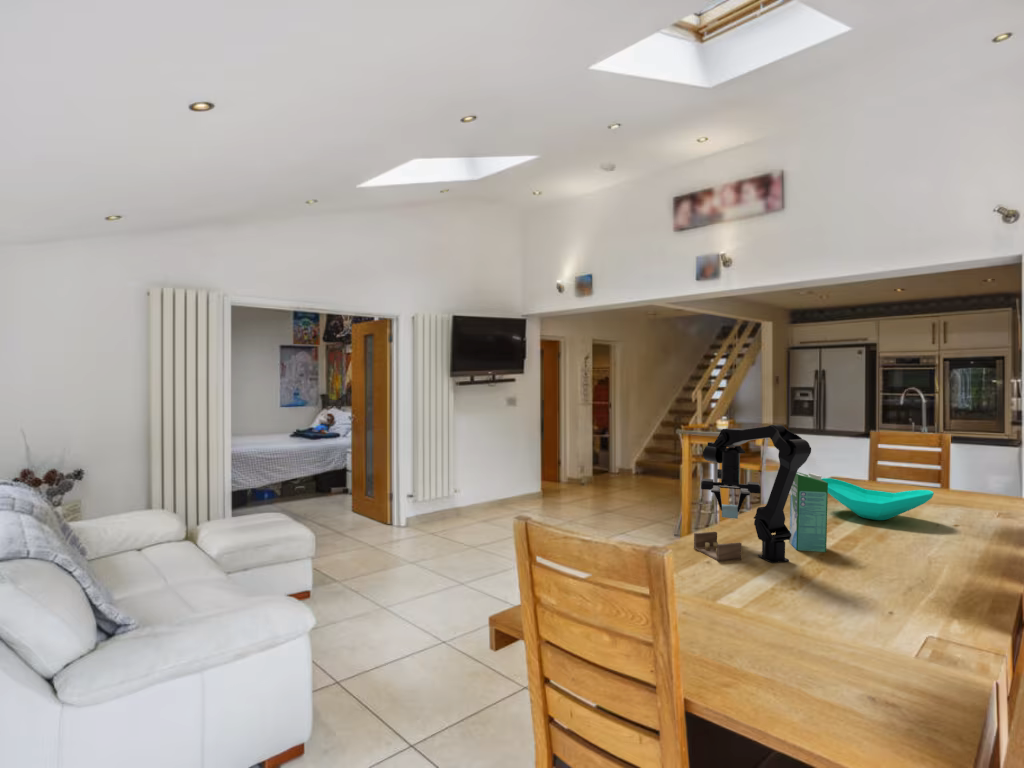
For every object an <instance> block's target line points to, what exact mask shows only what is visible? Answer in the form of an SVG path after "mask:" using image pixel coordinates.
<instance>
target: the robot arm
mask: <svg viewBox="0 0 1024 768" xmlns="http://www.w3.org/2000/svg"><path fill="white" fill-rule="evenodd" d="M762 439H763V440H764V439H765V440H766V439H770V440H771V442H772V444H773V447H774V448H776V450H778V459H779V466H778V467H779V468H778V471H777V473H776V476H775V479H774V483H773V486H772V488H771V490H770V493H769V496H768V498H767V499H768V500H767V502H766V505H764V506H758V507H757V508H756V512H755V515H754V517H753V519H754V521H753V522H754V523H753V524H754V527H755V530H756V531H755V532H756V535H757V539H758V540H760V541H761V542H762V543H761V554H758V555H757V556H758V558H760V559H763V560H765V561H768V562H770V563H771V564H773V563H774V564H776V563H785V562H790V559H789V558H786V541H789V540H790V537H791V533H790V529H789V528H788V527H787V526H786V524H785V523H786V516H785V511H784V509H785V507H786V503H787V501H788V498H789V495H790V492H791V487H792V484H793V481H794V478H795V476H796V473H797V472H798V470H799V469H800V468H801V467H802V466H803V465H804V464H805V463H806V462H807V460H808V459H809V457H810V455H811V453H812V447H811V446H810V443H809V442H808V441H807V440H805V439H804V438H802V437H801V436H800V435H798V434H796V433H795V432H792V431H790V430H789V429H788V428H786V427H785V426H784V425H783V424H770V425H767V426H760V427H759V426H758V427H754V428H739V427H735V428H723V429H721V430H720V432H719V435H718V436H717V438H715V441H708V442H707V445H706V446H705V447H704V448H703V451H702V457H703V459H704V460H705V461H707V462H713V463H717V464H721V468H720V469H719V468H718V469H717V471H716V474H717V475H716V478H717V480H720V481H721V482H719V481H714V479H713V478H702V479H701V481H700V489H701V490H706V491H710V492H711V493H713V494H714V495H715V497H716V500H717V502H718V506H719V509H720V512H722V504H723V503H722V495H721V494H722V493H721V489H730V490H731V489H732V490H739V496H738V502H737V506H738V513H740V510H741V507H742V506H743V503H744V501H745V499H746V497H747V496H750V495H751V494H761V491H762V490H761V485H760V483H759V482H758V481H755V482H754V481H747V482H746V483H740V475H741V474H740V468H741V467H740V466H741V463H740V461H741V458H740V457H741V454H746V450H744V449H743V448H742V446H741V445H743V444H746V443H747V442H750V441H755V440H762Z"/></svg>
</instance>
